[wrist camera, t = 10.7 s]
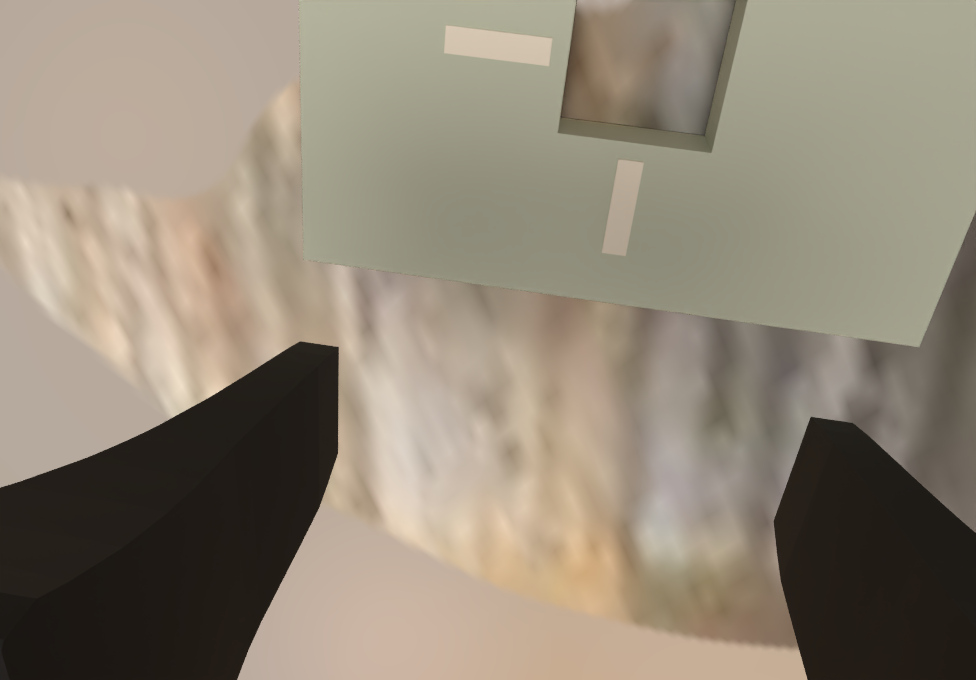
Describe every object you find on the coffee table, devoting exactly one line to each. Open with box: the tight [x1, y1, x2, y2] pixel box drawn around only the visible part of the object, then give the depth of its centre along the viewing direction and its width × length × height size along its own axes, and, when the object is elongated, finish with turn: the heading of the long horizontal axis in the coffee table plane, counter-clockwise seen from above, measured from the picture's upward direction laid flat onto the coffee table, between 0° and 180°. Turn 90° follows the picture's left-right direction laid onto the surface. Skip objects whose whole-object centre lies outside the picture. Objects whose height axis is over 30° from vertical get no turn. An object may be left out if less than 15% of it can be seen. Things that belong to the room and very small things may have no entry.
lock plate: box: [299, 0, 976, 347], centre depth 19 cm, size 16×12×2 cm
